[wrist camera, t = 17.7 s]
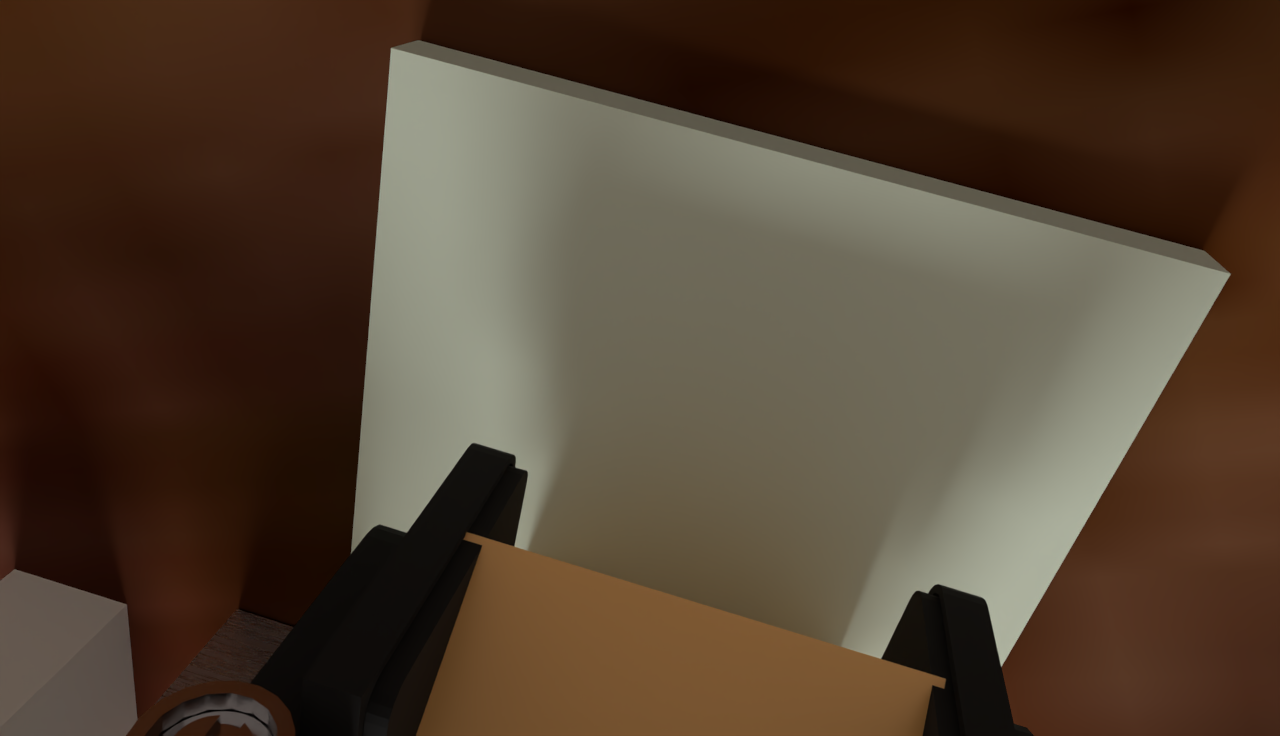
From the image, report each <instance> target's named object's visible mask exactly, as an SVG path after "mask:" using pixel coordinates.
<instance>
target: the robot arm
mask: <svg viewBox="0 0 1280 736" xmlns="http://www.w3.org/2000/svg"><path fill="white" fill-rule="evenodd" d="M515 465H516V457H515V455H513V454H510V453H506V452H503V451H500V450H497V449H493V448H490V447H487V446H483V445H480V444H477V443H472V444H471V445H470V446H469V447H468V448H467V450H466V451H465V452H464V454H463V455H462V457H461V458H460V459H459V461H458V462H457V464H456V465H455V466H454V468H453V469H452V471H451V472H450V473H449V475H448V476H447V477H446V479H445V480H444V482H443V483H442V484H441V486H440V487H439V489H438V490H437V491H436V493H435V494H434V496H433V497H432V498H431V500H430V501H429V503H428V504H427V505H426V507H425V508H424V510H423V511H422V512H421V514H420V515H419V517H418V518H417V519H416V521H415V522H414V524H413V525H412V526H411V528H410V529H409V531H408V532H407V533H406V532H403V531H399V530H396V529H393V528H390V527H387V526H383V525H380V524H379V525H377V526H375V527H373V528H372V529H371V530H370V531H369V532H368V533H367V534H366V535H365V537H364V538H363V539H362V540H361V542H360V543H359V544H358V546H357V547H356V548H355V549H354V551H353V552H352V553H351V555H350V556H349V557H348V558H347V560H346V561H345V562H344V563H343V565H342V566H341V567H340V569H339V570H338V571H337V572H336V574H335V575H334V576H333V578H332V579H331V580H330V581H329V583H328V584H327V585H326V587H325V588H324V589H323V590H322V592H321V593H320V594H319V595H318V597H317V598H316V599H315V601H314V602H313V603H312V604H311V606H310V607H309V608H308V610H307V611H306V612H305V613H304V615H303V616H302V617H301V619H300V620H299V621H298V622H297V624H296V625H295V626H294V627H293V629H292V630H291V631H290V633H289V634H288V635H287V636H286V638H285V639H284V640H283V642H282V643H281V644H280V645H279V647H278V648H277V649H276V650H275V652H274V653H273V654H272V656H271V657H270V658H269V659H268V661H267V662H266V663H265V665H264V666H263V667H262V668H261V670H260V671H259V672H258V674H257V675H256V676H255V677H254V679H253V680H252V681H251V682H250V684H249V683H245V682H241V681H210V682H206V683H202V684H198V685H194V686H190V687H186V688H183V689H181V690H179V691H177V692H175V693H173V694H171V695H169V696H167V697H165V698H163V699H161V700H160V701H158V702H157V703H156V704H155V705H154V706H152V707H151V708H150V709H149V710H147V711H146V712H145V713H144V714H142V715H141V716H140V717H139V719H138V720H137V721H136V723H135V724H134V725H133V727H132V728H131V730H130V731H129V732H128V734H127V735H126V736H416V734H417V731H418V728H419V725H420V723H421V720H422V717H423V714H424V711H425V708H426V705H427V703H428V700H429V697H430V694H431V691H432V688H433V685H434V682H435V680H436V677H437V674H438V671H439V668H440V665H441V662H442V660H443V657H444V654H445V651H446V648H447V645H448V642H449V640H450V637H451V634H452V631H453V628H454V625H455V622H456V619H457V617H458V614H459V611H460V608H461V605H462V602H463V599H464V597H465V594H466V591H467V588H468V585H469V582H470V579H471V577H472V574H473V571H474V568H475V565H476V562H477V559H478V556H479V554H480V551H481V548H482V545H480V544H476V543H473V542H470V541H467V540H463V539H464V537H465V535H466V532H468V533H472V534H475V535H478V536H481V537H485V538H488V539H491V540H494V541H498V542H501V543H504V544H507V545H511V546H515V541H516V536H517V531H518V525H519V520H520V515H521V510H522V505H523V500H524V495H525V489H526V484H527V478H528V472H527V471H526V470H522V469H519V468H516V467H515ZM881 659H883V660H886V661H889V662H893V663H896V664H899V665H902V666H906V667H909V668H912V669H915V670H919V671H922V672H925V673H928V674H932V675H935V676H938V677H942V678H945V679H946V682H945V687H944V689H943V688H940V687H937V686H934V685H932V690H931V695H930V700H929V705H928V710H927V715H926V720H925V725H924V730H923V736H1033V734H1032V733H1031V732H1030V731H1029V730H1028V729H1027V728H1026V727H1023V726H1019V725H1016V724H1014V723H1013V718H1012V714H1011V709H1010V705H1009V700H1008V696H1007V691H1006V687H1005V682H1004V678H1003V673H1002V668H1001V664H1000V659H999V655H998V650H997V646H996V641H995V637H994V632H993V628H992V623H991V619H990V614H989V609H988V605H987V603H986V600H985V599H983V598H982V597H979V596H976V595H973V594H969V593H966V592H963V591H960V590H956V589H953V588H950V587H946V586H943V585H940V584H937V585H934V586H933V587H932V588H931V590H930V591H929V593H925V592H922V591H915V592H914V594H913V595H912V597H911V598H910V600H909V602H908V604H907V606H906V608H905V611H904V613H903V615H902V617H901V619H900V621H899V623H898V625H897V627H896V629H895V631H894V633H893V635H892V637H891V639H890V642H889V644H888V646H887V648H886V650H885V652H884V654H883V656H882V658H881Z"/></svg>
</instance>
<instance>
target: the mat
mask: <svg viewBox="0 0 1280 736" xmlns="http://www.w3.org/2000/svg"><path fill="white" fill-rule="evenodd" d="M1229 276H1230V273H1229V272H1228V271H1227V270H1226V269H1224V268H1223V267H1222V266H1221V265H1220V264H1219V263H1218V262H1217V261H1215V260H1214V259H1213V258H1212V257H1211V256H1210V255H1209V254H1208V253H1206V252H1205V251H1203V250H1200V249H1196V248H1192V247H1189V246H1185V245H1181V244H1177V243H1174V242H1170V241H1166V240H1162V239H1159V238H1155V237H1151V236H1148V235H1144V234H1140V233H1136V232H1133V231H1129V230H1125V229H1121V228H1118V227H1114V226H1110V225H1106V224H1103V223H1099V222H1095V221H1092V220H1088V219H1084V218H1080V217H1077V216H1073V215H1069V214H1065V213H1062V212H1058V211H1054V210H1051V209H1047V208H1043V207H1039V206H1036V205H1032V204H1028V203H1024V202H1021V201H1017V200H1013V199H1009V198H1006V197H1002V196H998V195H995V194H991V193H987V192H983V191H980V190H976V189H972V188H968V187H965V186H961V185H957V184H954V183H950V182H946V181H942V180H939V179H935V178H931V177H927V176H924V175H920V174H916V173H912V172H909V171H905V170H901V169H898V168H894V167H890V166H886V165H883V164H879V163H875V162H871V161H868V160H864V159H860V158H857V157H853V156H849V155H845V154H842V153H838V152H834V151H830V150H827V149H823V148H819V147H815V146H812V145H808V144H804V143H801V142H797V141H793V140H789V139H786V138H782V137H778V136H774V135H771V134H767V133H763V132H760V131H756V130H752V129H748V128H745V127H741V126H737V125H733V124H730V123H726V122H722V121H718V120H715V119H711V118H707V117H704V116H700V115H696V114H692V113H689V112H685V111H681V110H677V109H674V108H670V107H666V106H663V105H659V104H655V103H651V102H648V101H644V100H640V99H636V98H633V97H629V96H625V95H621V94H618V93H614V92H610V91H607V90H603V89H599V88H595V87H592V86H588V85H584V84H580V83H577V82H573V81H569V80H566V79H562V78H558V77H554V76H551V75H547V74H543V73H539V72H536V71H532V70H528V69H524V68H521V67H517V66H513V65H510V64H506V63H502V62H498V61H495V60H491V59H487V58H483V57H480V56H476V55H472V54H468V53H465V52H461V51H457V50H454V49H450V48H446V47H442V46H439V45H435V44H431V43H427V42H424V41H420V40H417V41H413V42H410V43H406V44H403V45H400V46H396V47H393V48H391V56H390V69H389V81H388V94H387V106H386V119H385V132H384V144H383V157H382V169H381V182H380V195H379V207H378V220H377V232H376V245H375V258H374V270H373V283H372V295H371V308H370V321H369V333H368V346H367V358H366V371H365V384H364V396H363V409H362V421H361V434H360V447H359V459H358V472H357V484H356V497H355V510H354V522H353V535H352V547H351V553H352V552H353V551H354V549H355V548H356V547H357V546H358V544H359V543H360V542H361V540H362V539H363V538H364V537H365V535H366V534H367V533H368V532H369V531H370V530H371V529H372V528H373V527H375V526H377V525H379V524H380V525H383V526H387V527H390V528H393V529H396V530H399V531H403V532H406V533H407V532H408V531H409V529H410V528H411V526H412V525H413V524H414V522H415V521H416V519H417V518H418V517H419V515H420V514H421V512H422V511H423V510H424V508H425V507H426V505H427V504H428V503H429V501H430V500H431V498H432V497H433V496H434V494H435V493H436V491H437V490H438V489H439V487H440V486H441V484H442V483H443V482H444V480H445V479H446V477H447V476H448V475H449V473H450V472H451V471H452V469H453V468H454V466H455V465H456V464H457V462H458V461H459V459H460V458H461V457H462V455H463V454H464V452H465V451H466V450H467V448H468V447H469V446H470V445H471V444H472V443H477V444H480V445H483V446H487V447H490V448H493V449H497V450H500V451H503V452H506V453H510V454H513V455H515V457H516V465H515V467H516V468H519V469H522V470H526V471H527V472H528V478H527V484H526V489H525V495H524V500H523V505H522V510H521V515H520V520H519V525H518V531H517V536H516V541H515V546H514V547H517V548H520V549H524V550H527V551H530V552H534V553H537V554H540V555H543V556H547V557H550V558H553V559H556V560H560V561H563V562H566V563H569V564H573V565H576V566H579V567H582V568H586V569H589V570H592V571H596V572H599V573H602V574H605V575H609V576H612V577H615V578H618V579H622V580H625V581H628V582H631V583H635V584H638V585H641V586H645V587H648V588H651V589H654V590H658V591H661V592H664V593H667V594H671V595H674V596H677V597H680V598H684V599H687V600H690V601H693V602H697V603H700V604H703V605H707V606H710V607H713V608H716V609H720V610H723V611H726V612H729V613H733V614H736V615H739V616H742V617H746V618H749V619H752V620H755V621H759V622H762V623H765V624H769V625H772V626H775V627H778V628H782V629H785V630H788V631H791V632H795V633H798V634H801V635H804V636H808V637H811V638H814V639H818V640H821V641H824V642H827V643H831V644H834V645H837V646H840V647H844V648H847V649H850V650H853V651H857V652H860V653H863V654H866V655H870V656H873V657H876V658H880V659H881V658H882V656H883V654H884V652H885V650H886V648H887V646H888V644H889V642H890V639H891V637H892V635H893V633H894V631H895V629H896V627H897V625H898V623H899V621H900V619H901V617H902V615H903V613H904V611H905V608H906V606H907V604H908V602H909V600H910V598H911V597H912V595H913V594H914V592H915V591H922V592H925V593H929V591H930V590H931V588H932V587H933V586H934V585H937V584H940V585H943V586H946V587H950V588H953V589H956V590H960V591H963V592H966V593H969V594H973V595H976V596H979V597H982V598H983V599H985V600H986V603H987V605H988V609H989V614H990V619H991V623H992V628H993V632H994V637H995V641H996V646H997V650H998V655H999V659H1000V664H1001V667H1002V665H1003V663H1004V661H1005V660H1006V658H1007V656H1008V655H1009V653H1010V651H1011V649H1012V648H1013V646H1014V644H1015V643H1016V641H1017V639H1018V637H1019V636H1020V634H1021V632H1022V631H1023V629H1024V627H1025V625H1026V624H1027V622H1028V620H1029V619H1030V617H1031V615H1032V613H1033V612H1034V610H1035V608H1036V607H1037V605H1038V603H1039V601H1040V600H1041V598H1042V596H1043V595H1044V593H1045V591H1046V589H1047V588H1048V586H1049V584H1050V583H1051V581H1052V579H1053V577H1054V576H1055V574H1056V572H1057V571H1058V569H1059V567H1060V565H1061V564H1062V562H1063V560H1064V559H1065V557H1066V555H1067V553H1068V552H1069V550H1070V548H1071V547H1072V545H1073V543H1074V541H1075V540H1076V538H1077V536H1078V535H1079V533H1080V531H1081V529H1082V528H1083V526H1084V524H1085V523H1086V521H1087V519H1088V517H1089V516H1090V514H1091V512H1092V511H1093V509H1094V507H1095V505H1096V504H1097V502H1098V500H1099V499H1100V497H1101V495H1102V493H1103V492H1104V490H1105V488H1106V487H1107V485H1108V483H1109V481H1110V480H1111V478H1112V476H1113V475H1114V473H1115V471H1116V469H1117V468H1118V466H1119V464H1120V463H1121V461H1122V459H1123V457H1124V456H1125V454H1126V452H1127V451H1128V449H1129V447H1130V445H1131V444H1132V442H1133V440H1134V439H1135V437H1136V435H1137V433H1138V432H1139V430H1140V428H1141V427H1142V425H1143V423H1144V421H1145V420H1146V418H1147V416H1148V415H1149V413H1150V411H1151V410H1152V408H1153V406H1154V404H1155V403H1156V401H1157V399H1158V398H1159V396H1160V394H1161V392H1162V391H1163V389H1164V387H1165V386H1166V384H1167V382H1168V380H1169V379H1170V377H1171V375H1172V374H1173V372H1174V370H1175V368H1176V367H1177V365H1178V363H1179V362H1180V360H1181V358H1182V356H1183V355H1184V353H1185V351H1186V350H1187V348H1188V346H1189V344H1190V343H1191V341H1192V339H1193V338H1194V336H1195V334H1196V332H1197V331H1198V329H1199V327H1200V326H1201V324H1202V322H1203V320H1204V319H1205V317H1206V315H1207V314H1208V312H1209V310H1210V308H1211V307H1212V305H1213V303H1214V302H1215V300H1216V298H1217V296H1218V295H1219V293H1220V291H1221V290H1222V288H1223V286H1224V284H1225V283H1226V281H1227V279H1228V278H1229Z"/></svg>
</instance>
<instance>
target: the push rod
mask: <svg viewBox="0 0 1280 736" xmlns="http://www.w3.org/2000/svg"><path fill="white" fill-rule="evenodd" d="M136 721H137V710H136V699H135V688H134V677H133V666H132V655H131V644H130V633H129V622H128V611H127V604H124V603H121V602H118V601H114V600H111V599H108V598H105V597H102V596H98V595H95V594H92V593H89V592H86V591H83V590H79V589H76V588H73V587H70V586H67V585H64V584H60V583H57V582H54V581H51V580H48V579H44V578H41V577H38V576H35V575H32V574H29V573H25V572H22V571H19V570H16V569H14V570H13V571H12V572H11V573H9V574H8V575H7V576H6V577H4V578H3V579H2V580H0V736H126V735H127V734H128V732H129V731H130V730H131V728H132V727H133V725H134V724H135V723H136Z"/></svg>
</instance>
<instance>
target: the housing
mask: <svg viewBox="0 0 1280 736" xmlns="http://www.w3.org/2000/svg"><path fill="white" fill-rule="evenodd" d="M292 629H293V627H292V626H289V625H286V624H282V623H279V622H276V621H273V620H270V619H267V618H264V617H261V616H257V615H254V614H251V613H248V612H245V611H242V610H239V609H237V610H236V611H235V612H234V613H233V614H232V615H231V616H230V618H229V619H228V620H227V621H226V622H225V623H224V625H223V626H222V627H221V628H220V629H219V630H218V631H217V633H216V634H215V635H214V636H213V637H212V638H211V640H210V641H209V642H208V643H207V644H206V645H205V646H204V648H203V649H202V650H201V651H200V652H199V653H198V655H197V656H196V657H195V658H194V659H193V660H192V661H191V663H190V664H189V665H188V666H187V667H186V668H185V670H184V671H183V672H182V673H181V674H180V675H179V677H178V678H177V679H176V680H175V681H174V682H173V683H172V685H171V686H170V687H169V688H168V689H167V690H166V692H165V693H164V694H163V695H162V696H161V697H160V698H159V700H158V701H160V700H161V699H163V698H165V697H167V696H169V695H171V694H173V693H175V692H177V691H179V690H181V689H183V688H186V687H190V686H194V685H198V684H202V683H206V682H210V681H241V682H245V683H249V684H250V682H251V681H252V680H253V679H254V677H255V676H256V675H257V674H258V672H259V671H260V670H261V668H262V667H263V666H264V665H265V663H266V662H267V661H268V659H269V658H270V657H271V656H272V654H273V653H274V652H275V650H276V649H277V648H278V647H279V645H280V644H281V643H282V642H283V640H284V639H285V638H286V636H287V635H288V634H289V633H290V631H291V630H292ZM158 701H157V702H158ZM157 702H156V703H157ZM156 703H155V704H156ZM155 704H154V705H155ZM154 705H153V706H154Z"/></svg>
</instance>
